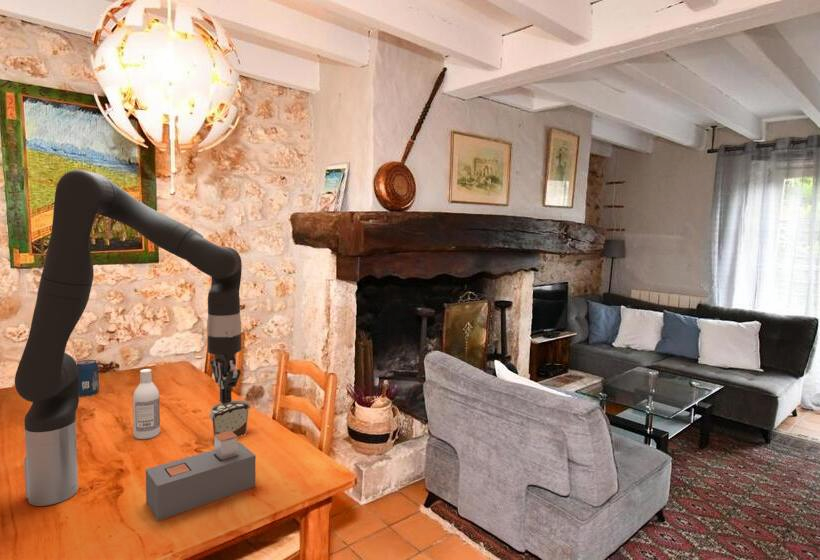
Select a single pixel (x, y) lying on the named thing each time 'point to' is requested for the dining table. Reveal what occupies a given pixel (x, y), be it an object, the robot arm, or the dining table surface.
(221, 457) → the peg far
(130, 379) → the dining table surface
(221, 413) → the half cake
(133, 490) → the dining table surface
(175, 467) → the peg near
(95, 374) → the soda can
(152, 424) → the bath foam
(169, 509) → the guide block
